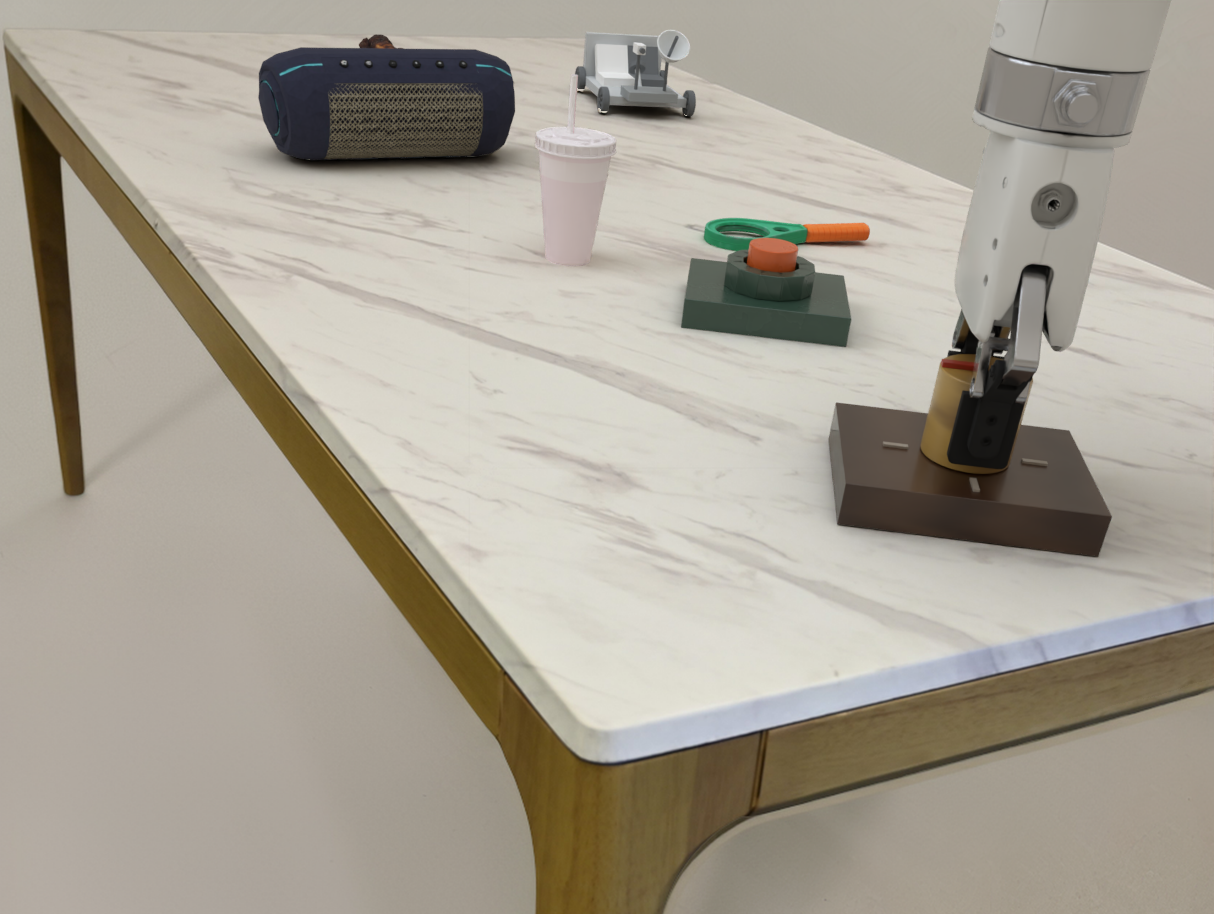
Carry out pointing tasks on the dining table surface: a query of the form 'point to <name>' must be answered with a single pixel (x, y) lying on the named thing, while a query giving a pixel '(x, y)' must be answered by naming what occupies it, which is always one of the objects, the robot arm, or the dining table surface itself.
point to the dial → (952, 411)
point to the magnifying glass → (780, 232)
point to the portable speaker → (386, 102)
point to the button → (772, 255)
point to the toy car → (634, 70)
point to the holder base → (963, 486)
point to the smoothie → (572, 185)
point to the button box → (767, 301)
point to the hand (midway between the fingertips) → (968, 438)
